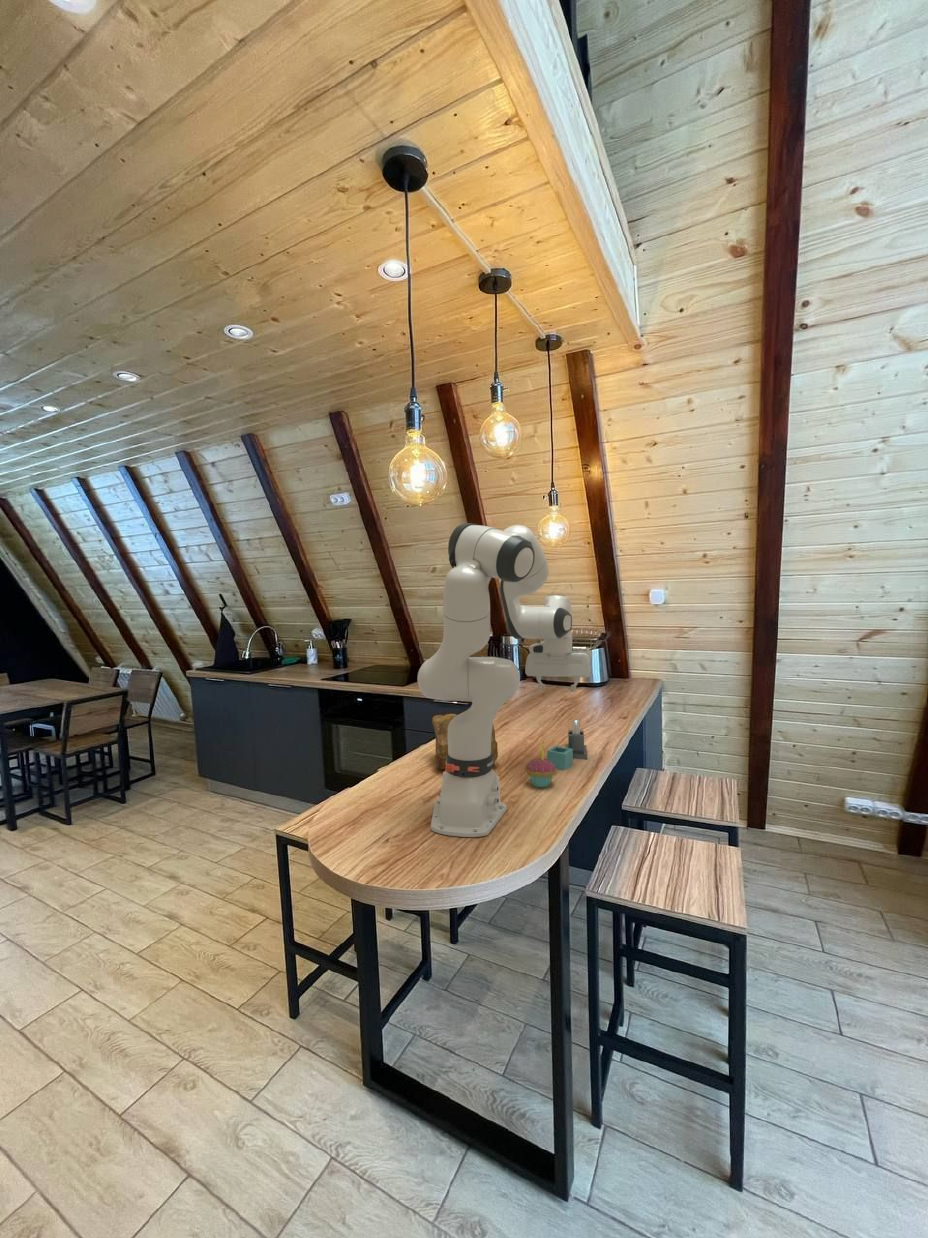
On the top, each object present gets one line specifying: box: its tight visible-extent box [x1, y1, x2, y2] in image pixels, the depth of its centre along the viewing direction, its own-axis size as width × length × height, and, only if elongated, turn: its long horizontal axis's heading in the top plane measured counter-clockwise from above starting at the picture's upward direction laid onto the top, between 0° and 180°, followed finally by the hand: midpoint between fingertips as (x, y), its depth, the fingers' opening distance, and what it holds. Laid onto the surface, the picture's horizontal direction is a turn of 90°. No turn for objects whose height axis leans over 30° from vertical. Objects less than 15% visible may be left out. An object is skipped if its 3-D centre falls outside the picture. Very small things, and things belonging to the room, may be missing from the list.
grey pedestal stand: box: [565, 718, 588, 760], centre depth 167 cm, size 13×7×12 cm, turn 168°
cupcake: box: [525, 740, 557, 788], centre depth 140 cm, size 9×8×12 cm
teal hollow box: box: [546, 745, 574, 771], centre depth 155 cm, size 6×6×5 cm
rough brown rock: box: [431, 713, 499, 770], centre depth 155 cm, size 23×17×15 cm
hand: (557, 690), depth 154 cm, fingers open, 8 cm apart
